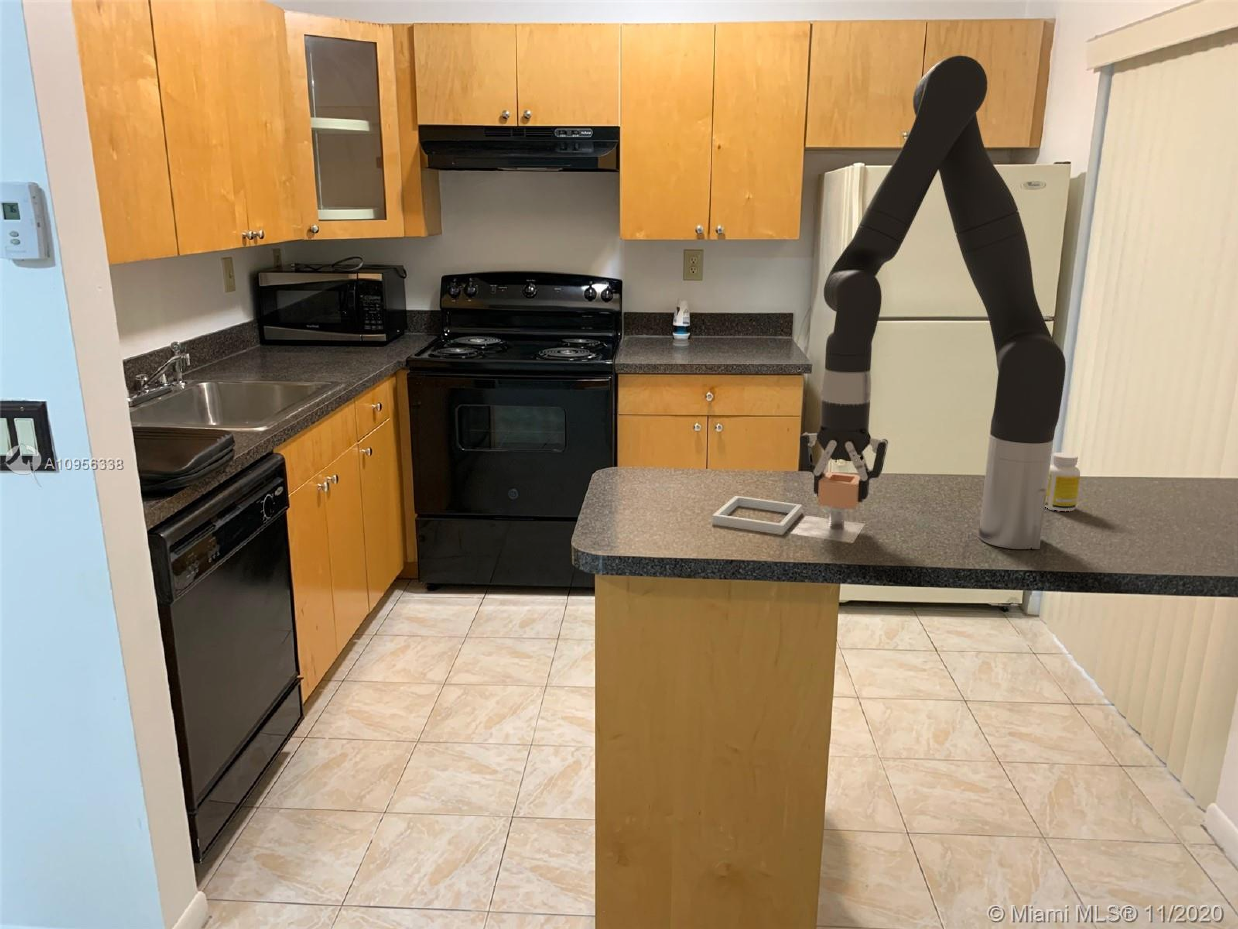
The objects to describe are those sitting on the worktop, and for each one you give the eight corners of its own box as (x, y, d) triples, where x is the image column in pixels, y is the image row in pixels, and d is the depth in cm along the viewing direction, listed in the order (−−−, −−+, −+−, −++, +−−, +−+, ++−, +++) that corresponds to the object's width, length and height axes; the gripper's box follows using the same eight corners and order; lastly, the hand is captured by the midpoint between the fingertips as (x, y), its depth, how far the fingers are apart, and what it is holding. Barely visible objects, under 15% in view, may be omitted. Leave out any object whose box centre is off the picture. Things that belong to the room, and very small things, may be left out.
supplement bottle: (1081, 509, 164) (1089, 456, 162) (1062, 514, 162) (1069, 460, 159) (1054, 501, 169) (1061, 449, 166) (1035, 506, 166) (1042, 453, 164)
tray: (801, 518, 159) (802, 504, 159) (782, 540, 149) (783, 525, 148) (735, 509, 164) (735, 495, 164) (712, 529, 154) (712, 515, 153)
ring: (862, 499, 152) (863, 475, 151) (855, 509, 147) (856, 485, 146) (826, 494, 155) (827, 471, 153) (817, 504, 149) (818, 481, 148)
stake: (864, 529, 154) (867, 492, 152) (852, 548, 145) (855, 509, 143) (805, 521, 158) (807, 484, 156) (790, 539, 149) (792, 501, 148)
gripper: (896, 396, 146) (889, 497, 151) (806, 390, 152) (802, 487, 157) (888, 405, 140) (881, 510, 144) (795, 398, 146) (791, 500, 150)
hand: (840, 498), depth 151 cm, fingers closed on ring, 6 cm apart
